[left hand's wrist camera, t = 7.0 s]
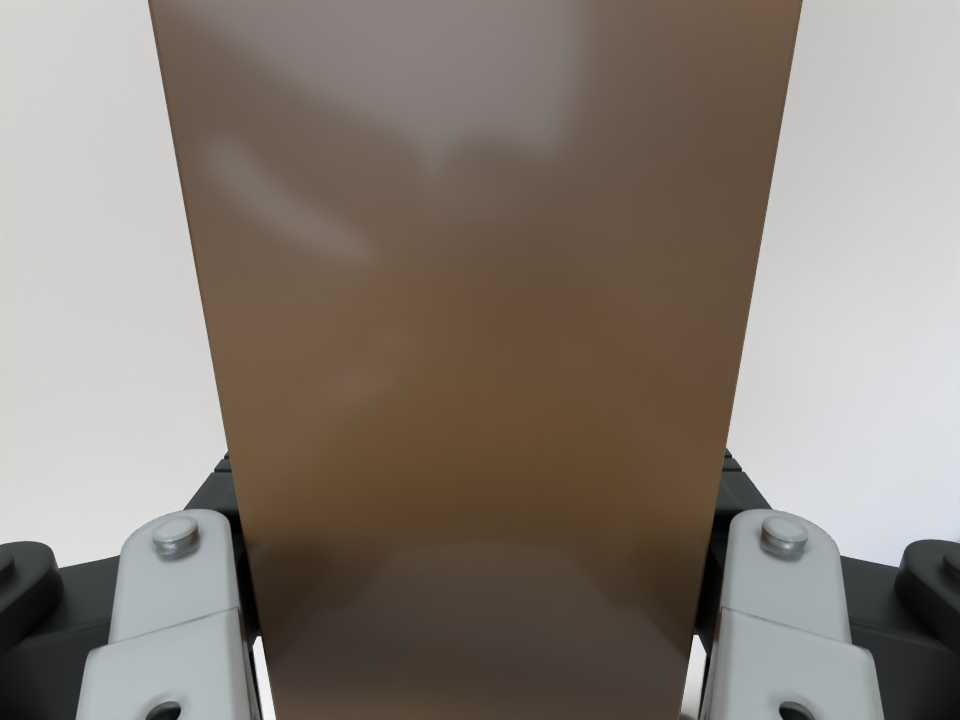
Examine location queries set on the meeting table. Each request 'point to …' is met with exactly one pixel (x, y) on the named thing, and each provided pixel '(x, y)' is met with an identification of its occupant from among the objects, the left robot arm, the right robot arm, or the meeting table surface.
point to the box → (476, 331)
